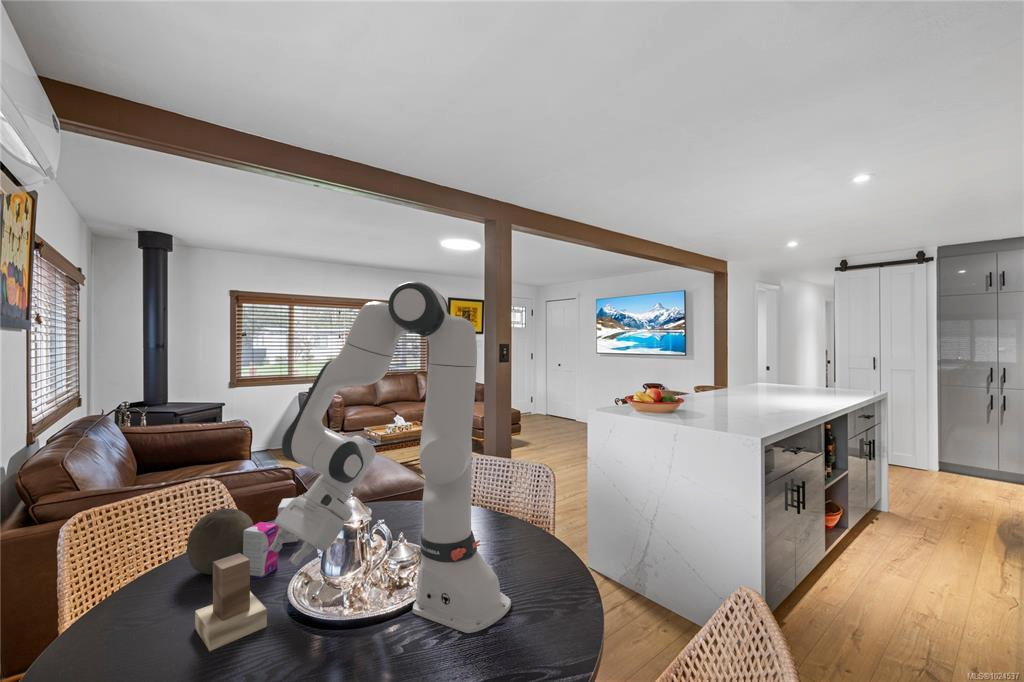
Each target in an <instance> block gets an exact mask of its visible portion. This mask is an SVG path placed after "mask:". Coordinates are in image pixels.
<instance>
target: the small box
mask: <svg viewBox="0 0 1024 682" xmlns="http://www.w3.org/2000/svg"><path fill="white" fill-rule="evenodd" d="M294 498H295V497H290V498H289V497H288V498H282V499H281V502H280V503H279V505H278V507H277V516H278V515H279V514H280V513H281V512H282V510H283V509H284V508H285V507H286V506H287V505H288V504H289V503H290V502H291V501H292V500H293V499H294ZM279 529H280V527H279ZM299 540H300V539H299V538H297V537H296V536H294V535H292V534H289V535H288V537H287V538H286V537H285V539H284V541H283V543H282V544H285V543H288V544H289V543H295V542H299Z"/></svg>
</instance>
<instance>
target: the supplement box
mask: <svg viewBox="0 0 1024 682" xmlns="http://www.w3.org/2000/svg"><path fill="white" fill-rule="evenodd" d="M278 531H279V527H278V526H277V525H275V523H272V522H265V521H262V522H261V521H259V522H258V523H256V524H253V526H251V527H249V528H247V529H246V530H244V537H243V555H244V556H245V557H247V558H248V559H249V560H250V578H253V579H263V578H265V577H266V576H267V575H269V574H270V573H271V572H273V571H275V570H277V569H278V564H279V552H278V553H275V552H274V551H272V550H270V546H271V545H272V543H273V542H274V540H275V537H276V534H277V532H278Z"/></svg>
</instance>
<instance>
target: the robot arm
mask: <svg viewBox="0 0 1024 682" xmlns="http://www.w3.org/2000/svg"><path fill="white" fill-rule="evenodd" d="M407 333H409V334H410V333H411V334H416V335H419V336H422V337H426V339H427V342H428V366H427V378H426V381H427V382H426V392H425V393H426V394H425V403H424V410H423V415H422V416H423V417H422V425H421V431H420V443H419V450H418V462H419V466H420V469H421V471H422V474H423V475H424V481H423V483H424V484H423V495H422V532H421V534H420V541H419V546H420V554H421V559H420V560H421V561H420V564H419V569H418V574H417V584H416V585H417V586H416V592H415V595H416V601H414V602H413V604H412V610H411V612H412V614H414V615H416V616H418V617H419V616H420V617H422V618H425V619H427V620H429V621H433V622H435V623H438V624H441V625H443V626H446V627H448V628H452V629H454V630H457V631H460V632H463V633H465V634H471V633H472V634H473V633H477V632H480V631H482V630H484V629H487V628H488V627H491V626H492V625H494V624H495V623H497V622H498V621H499V620H500V619H502V618H503V617H504V616H505V615H506V614H507V613H508V612H509V611H510V609H511V607H512V606H511V605H512V601H511V599H510V597H508V596H507V595H505V594H504V593H503V592H501V588H500V581H499V577H498V575H497V574H496V573H495V572H494V568H493V566H492V565H491V564H488V563H487V562H486V560H485V559H484V558H483V556H482V555H481V554H480V552H478V547H479V546H480V545H481V544H480V542H481V540H479V539H478V540H475V539H476V538H475V536H474V532H473V530H472V474H473V473H472V471H473V469H472V468H473V467H472V466H473V463H472V462H473V461H472V460H473V459H472V458H473V440H472V439H473V438H472V436H473V423H474V422H473V420H474V410H475V398H476V397H475V396H476V385H477V384H476V383H477V382H476V381H477V364H478V344H477V334H476V329H475V326H474V324H473V323H472V322H471V321H470V320H468V319H466V317H465V318H464V317H463V316H456V315H451V314H449V306H448V302H447V300H446V299H445V298H444V297H443V295H442V294H441V293H440V292H438V290H436V289H435V288H434V287H432V286H431V285H427V284H425V283H423V282H419V281H406V282H405V283H404V282H403V283H402V284H399V285H398V286H397V287H396V288H395V289H393V291H392V292H391V294H390V296H389V299H388V303H387V302H384V301H370V302H367V303H365V304H364V305H363V306H362V307H361V308H360V310H359V311H358V313H357V315H356V317H355V319H354V321H353V322H352V325H351V327H350V330H349V332H348V335H347V336H346V340H345V342H344V344H343V347H342V349H341V350H340V352H339V354H338V355H337V356H336V357H335V358H333V359H330V360H328V361H327V362H326V363H325V364H324V365H323V367H321V369H320V371H319V372H318V373H317V376H316V378H315V380H314V382H313V383H312V386H311V387H310V389H309V391H308V393H307V395H306V396H305V400H304V401H303V403H302V405H301V407H300V408H299V410H298V412H297V415H296V416H295V418H294V419H293V421H292V422H291V423H290V425H289V426H288V427H287V429H285V432H284V434H283V436H282V440H281V450H282V454H283V455H282V456H284V459H286V460H288V461H292V462H294V463H296V464H298V465H302V466H304V467H306V468H308V469H310V470H311V471H314V472H315V473H317V474H320V476H319V477H317V478H316V480H315V481H314V482H313V484H312V485H311V486H310V487H309V488H308V490H307V491H306V492H304V493H303V494H301V495H298V496H297V497H293V498H294V499H293V500H292V501H291V502H290V503H289V504H288V505H287V506H286V507H285V508H284V509H283V510H282V512H281V513H280V514H279V515H278V514H277V516H276V517H275V521H274V524H275V525H277V526H278V527H280V529H279V531H278V532H277V534H276V537H275V540H274V542H273V543H272V545H271V546H270V550H272V551H274V552H275V553H278V554H279V552H280V550H281V549H282V548H283V544H284V543H283V541H284V539H285V537H286V538H287V537H288V535H289V534H292V535H294V536H296V537H297V538H299V540H301V541H303V543H302V545H301V548H300V549H299V550H298V551H297V552H294V553H293V554H292V555H291V556H290V557H289V559H288V561H289V563H290V564H292V565H294V566H295V567H298V566H299V565H300V563H301V562H302V560H303V559H305V558H306V557H308V555H310V554H311V553H312V552H313V551H314V549H317V550H319V551H321V552H325V551H326V550H328V549H329V548H330V547H331V546H332V545H333V543H334V542H335V541H336V539H337V537H338V536H339V534H340V533H341V532H342V530H343V528H344V526H345V522H348V521H350V520H351V518H352V517H353V511H351V509H350V508H349V506H348V504H347V501H348V500H349V498H350V496H351V495H352V492H351V490H352V491H353V490H354V489H355V488H356V487H357V486H358V485H360V483H361V482H362V480H363V479H364V477H365V476H366V474H367V472H368V471H369V469H370V468H371V465H372V464H373V461H374V460H375V457H376V453H377V451H376V449H375V447H374V445H373V443H371V442H370V441H369V440H368V439H367V438H365V437H363V436H361V435H353V436H352V437H351V436H347V435H344V434H341V433H338V432H336V431H334V430H332V429H330V428H328V427H326V426H324V424H323V418H324V416H325V414H326V412H327V410H328V409H329V407H330V405H331V403H332V401H333V399H334V397H335V395H336V394H337V392H338V391H339V390H340V389H343V388H346V387H361V386H362V387H365V386H370V385H373V384H375V383H377V382H379V381H380V380H382V379H383V378H384V377H385V375H386V374H387V373H388V371H389V368H390V366H391V364H392V363H391V362H392V361H393V357H394V354H395V350H396V349H397V346H398V344H399V343H398V342H399V341H400V339H401V337H402V336H403V335H405V334H407Z"/></svg>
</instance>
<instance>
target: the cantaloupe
mask: <svg viewBox="0 0 1024 682" xmlns="http://www.w3.org/2000/svg"><path fill="white" fill-rule="evenodd" d="M253 525H254V522H253V520H252V518H251V516H249V514H247V513H246V512H245V511H242V510H239V509H236V508H229V507H228V508H219V509H216V510H213V511H210V512H209V513H207V514H205V515H204V516H202V517H201V518H200V519H199V520H198V521H197V522H196V523H195V525H194V527H193V528H192V529H191V531H190V532H189V535H188V538H187V542H186V543H187V544H186V554H187V558H188V561H189V564H190V566H191V567H192V569H193V570H195V571H197V572H198V573H200V574H204V575H212V576H213V562H214V561H217V560H220V559H223V558H226V557H229V556H232V555H235V554H238V553H241V554H242V555H243V537H244V530H246V529H247V528H249V527H251V526H253Z"/></svg>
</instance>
